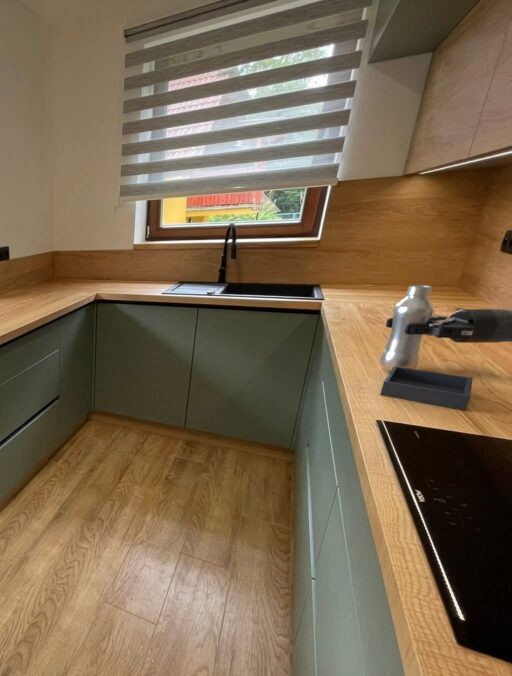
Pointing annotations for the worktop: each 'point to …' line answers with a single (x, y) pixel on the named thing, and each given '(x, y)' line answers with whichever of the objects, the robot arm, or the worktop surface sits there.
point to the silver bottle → (407, 311)
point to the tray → (428, 387)
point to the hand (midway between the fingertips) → (396, 325)
